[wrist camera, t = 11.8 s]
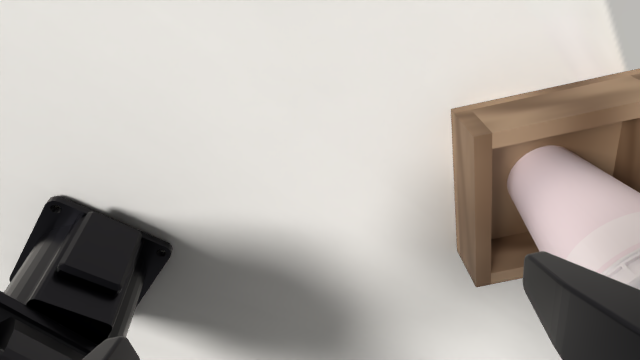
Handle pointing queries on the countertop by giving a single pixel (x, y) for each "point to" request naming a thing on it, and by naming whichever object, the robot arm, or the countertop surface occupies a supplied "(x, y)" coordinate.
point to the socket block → (519, 139)
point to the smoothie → (578, 212)
